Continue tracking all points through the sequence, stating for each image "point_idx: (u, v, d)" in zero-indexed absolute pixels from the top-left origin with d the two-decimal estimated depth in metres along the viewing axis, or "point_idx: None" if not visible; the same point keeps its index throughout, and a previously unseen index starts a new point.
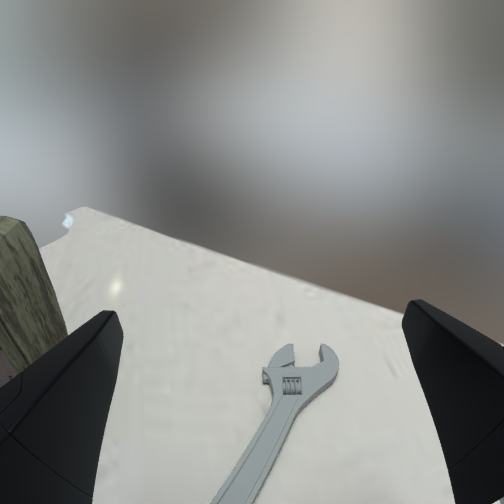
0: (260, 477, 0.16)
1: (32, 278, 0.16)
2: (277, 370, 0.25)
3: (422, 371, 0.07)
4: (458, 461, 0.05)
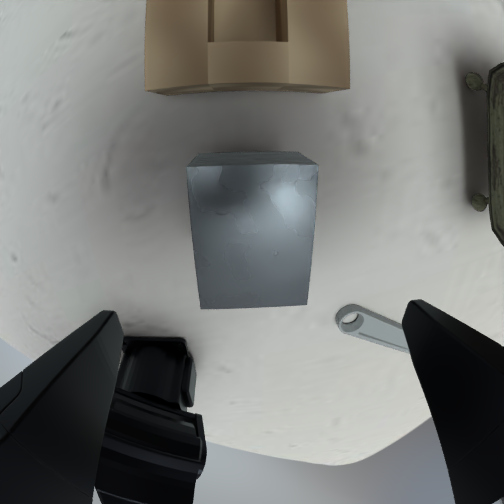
0: (405, 349, 0.27)
1: None
2: None
3: (422, 371, 0.07)
4: (458, 461, 0.05)
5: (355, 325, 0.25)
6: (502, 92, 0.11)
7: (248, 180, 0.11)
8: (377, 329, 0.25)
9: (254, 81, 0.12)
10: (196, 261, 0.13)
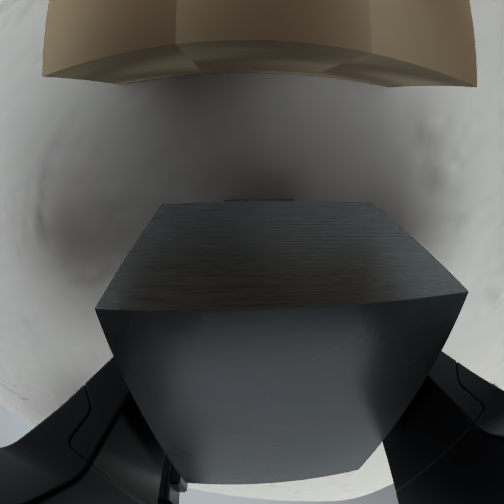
0: None
1: None
2: None
3: None
4: (405, 483, 0.05)
5: None
6: None
7: (287, 346, 0.04)
8: None
9: (292, 39, 0.04)
10: (166, 451, 0.05)
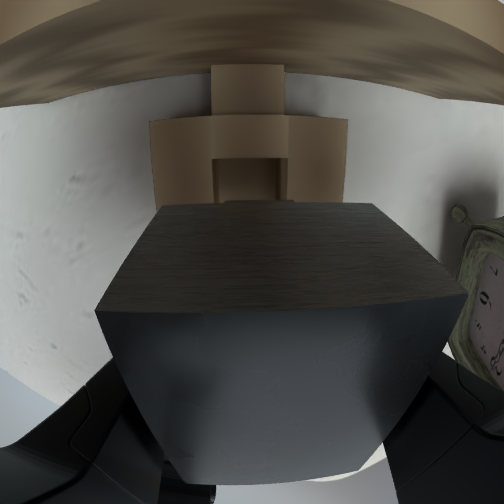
0: None
1: None
2: None
3: None
4: (405, 484, 0.05)
5: None
6: (477, 249, 0.17)
7: (288, 347, 0.04)
8: None
9: None
10: (166, 451, 0.05)
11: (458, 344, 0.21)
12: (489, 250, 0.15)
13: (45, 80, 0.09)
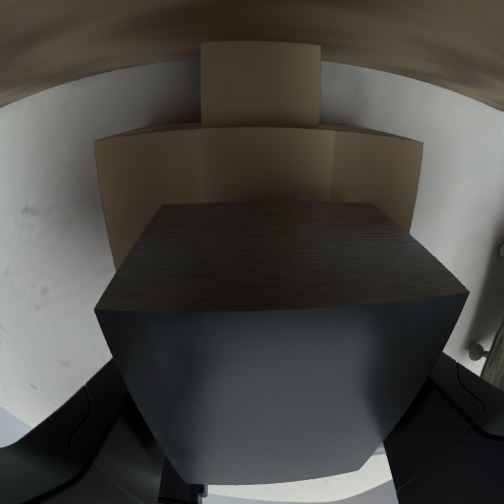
0: None
1: None
2: None
3: None
4: (405, 484, 0.05)
5: None
6: None
7: (288, 346, 0.04)
8: None
9: None
10: (166, 451, 0.05)
11: None
12: None
13: None
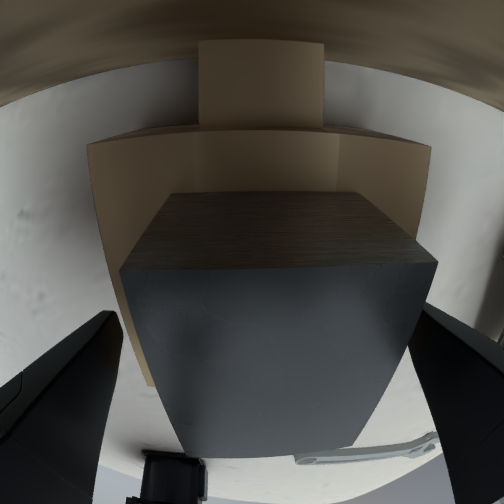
0: (364, 460, 0.27)
1: None
2: (429, 442, 0.28)
3: (422, 371, 0.07)
4: (458, 461, 0.05)
5: (311, 459, 0.26)
6: None
7: (280, 302, 0.04)
8: (332, 458, 0.26)
9: None
10: (171, 417, 0.06)
11: None
12: None
13: None
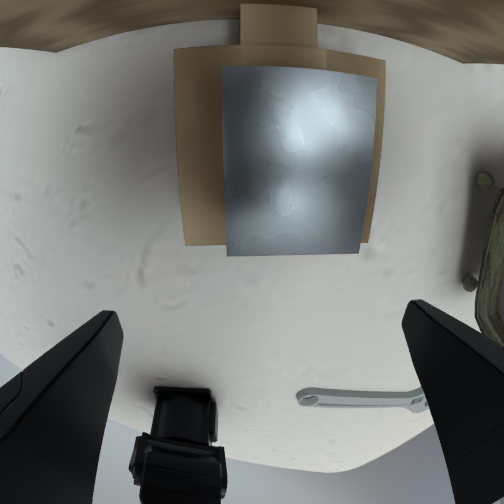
0: (366, 406, 0.32)
1: None
2: None
3: (422, 371, 0.07)
4: (458, 461, 0.05)
5: (313, 400, 0.30)
6: None
7: (298, 85, 0.08)
8: (334, 399, 0.30)
9: None
10: (226, 188, 0.10)
11: (487, 318, 0.18)
12: None
13: (63, 4, 0.07)
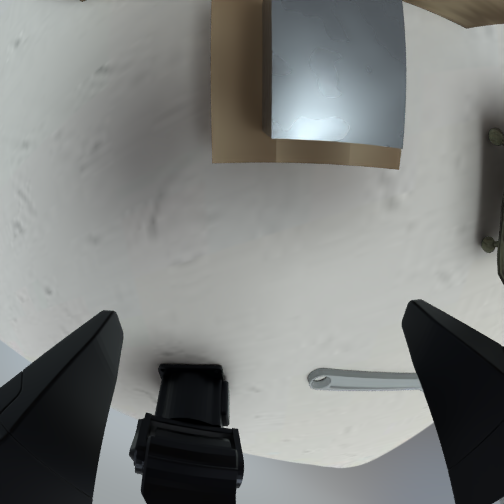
0: (380, 388, 0.30)
1: None
2: None
3: (422, 371, 0.07)
4: (458, 461, 0.05)
5: (325, 382, 0.29)
6: None
7: None
8: (347, 381, 0.29)
9: (318, 162, 0.14)
10: (274, 66, 0.08)
11: None
12: None
13: None
